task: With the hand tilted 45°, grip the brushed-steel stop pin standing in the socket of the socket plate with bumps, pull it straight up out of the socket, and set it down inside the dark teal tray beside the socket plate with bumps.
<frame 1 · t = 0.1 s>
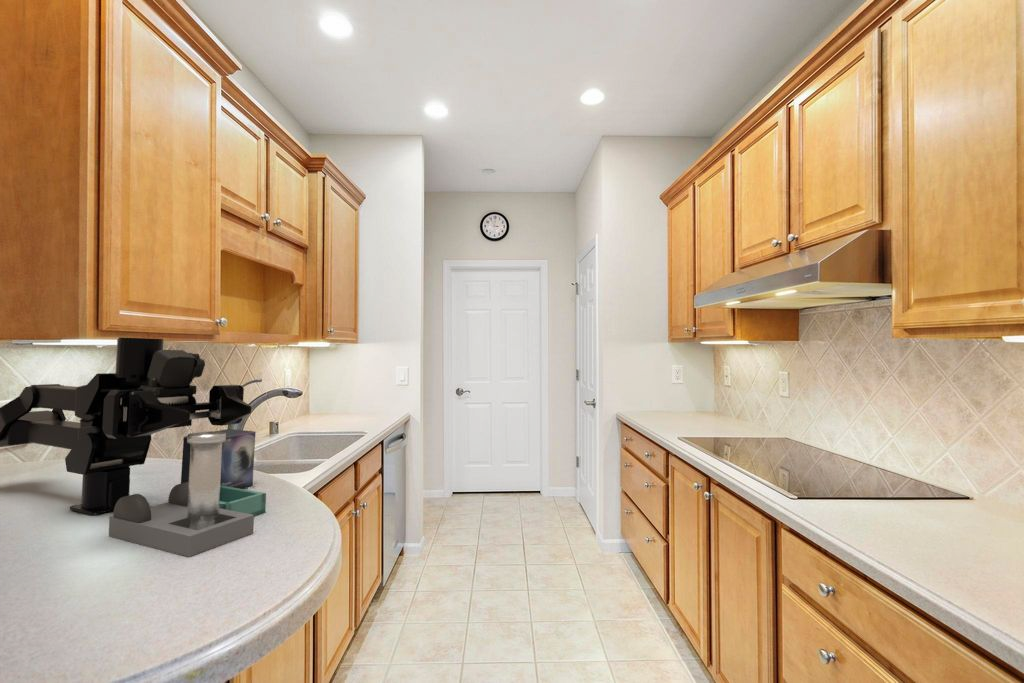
hand: (221, 412, 68), 17 cm above the counter, tool horizontal, fingers open, 9 cm apart
socket plate with bumps: (182, 534, 67), on the counter
small box: (218, 493, 88), on the counter
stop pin: (202, 539, 65), resting in socket plate with bumps
tray: (223, 514, 75), on the counter
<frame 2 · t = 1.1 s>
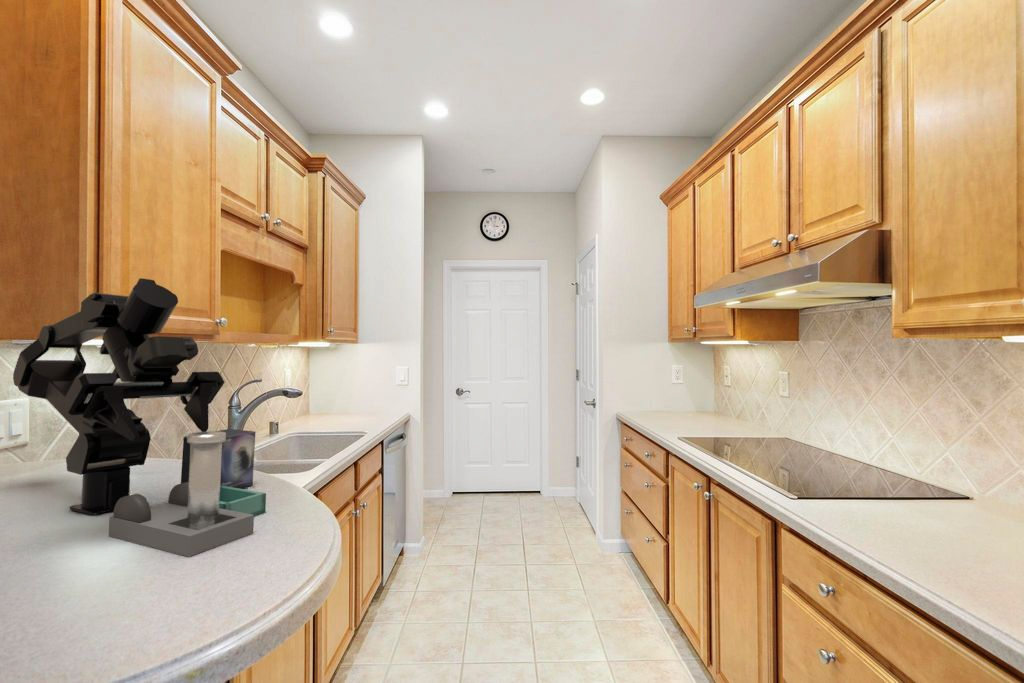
hand: (172, 434, 69), 13 cm above the counter, tool tilted 45°, fingers open, 9 cm apart
nothing on the counter moved.
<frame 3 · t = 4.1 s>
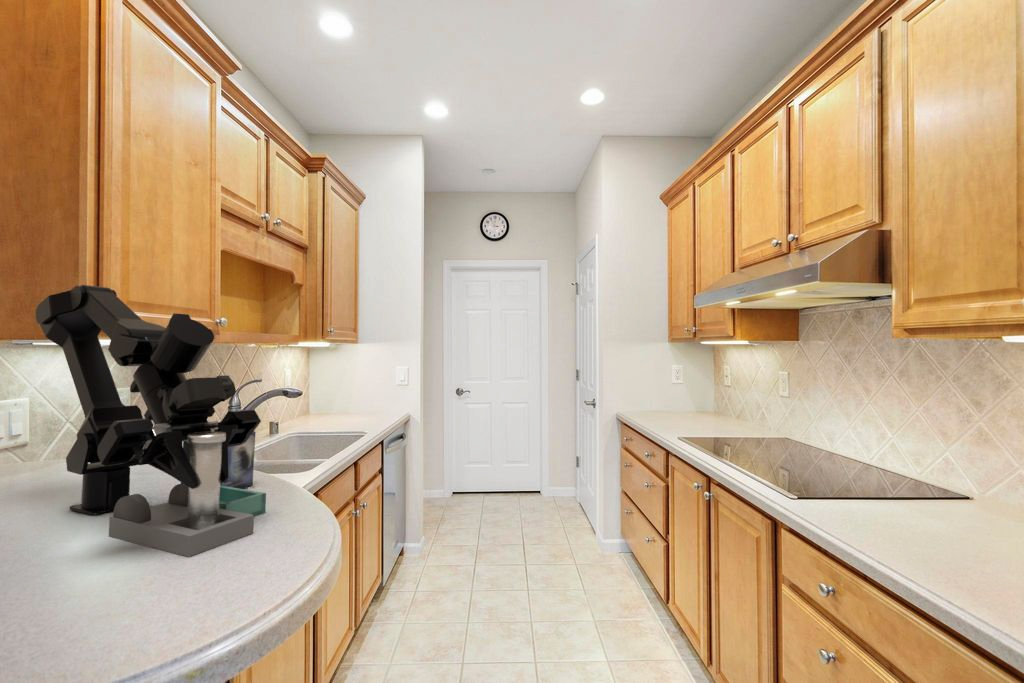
hand: (211, 483, 65), 8 cm above the counter, tool tilted 45°, fingers closed on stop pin, 4 cm apart
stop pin: (202, 539, 65), resting in socket plate with bumps, touching gripper
everything else where it was.
when the fingers open (10 cm above the counter, at t = 7.9 s): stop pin drops 1 cm, resting on tray.
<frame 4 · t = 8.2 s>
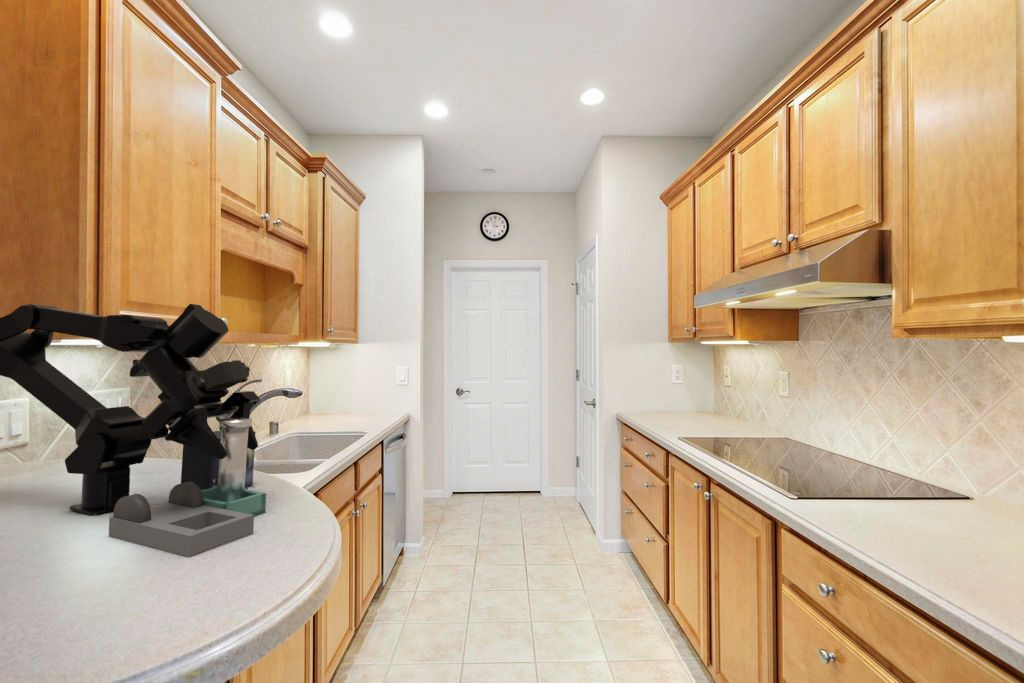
hand: (240, 452, 75), 10 cm above the counter, tool tilted 45°, fingers open, 7 cm apart
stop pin: (229, 511, 75), point 1 cm above the counter, touching tray
everything else where it was.
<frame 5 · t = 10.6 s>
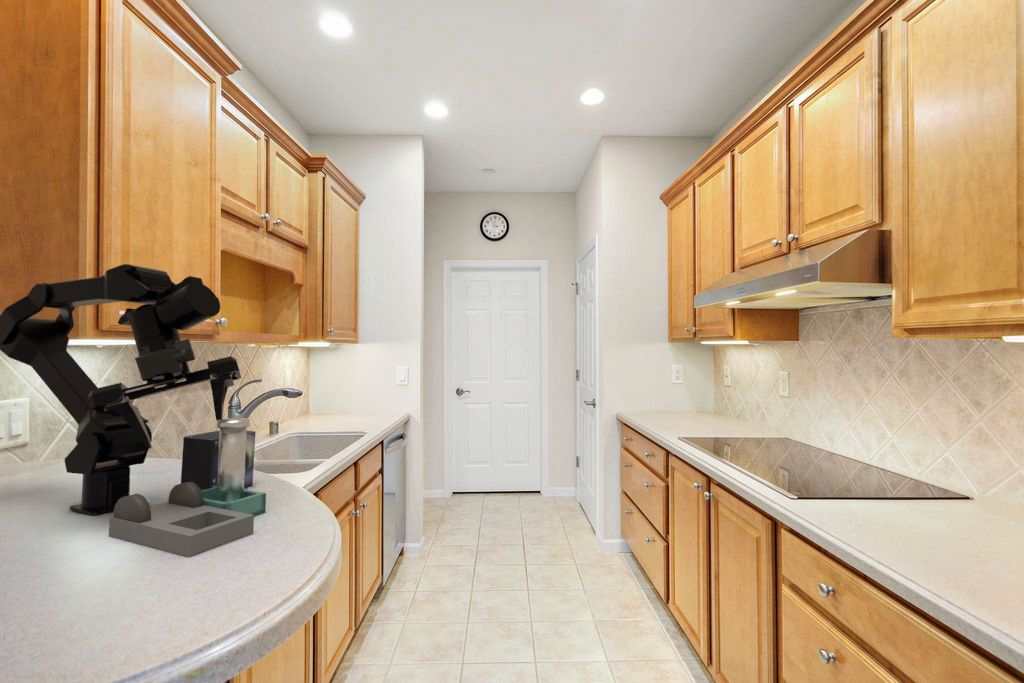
hand: (186, 437, 74), 12 cm above the counter, tool tilted 25°, fingers open, 9 cm apart
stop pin: (229, 511, 75), point 1 cm above the counter, touching gripper, tray
everything else where it was.
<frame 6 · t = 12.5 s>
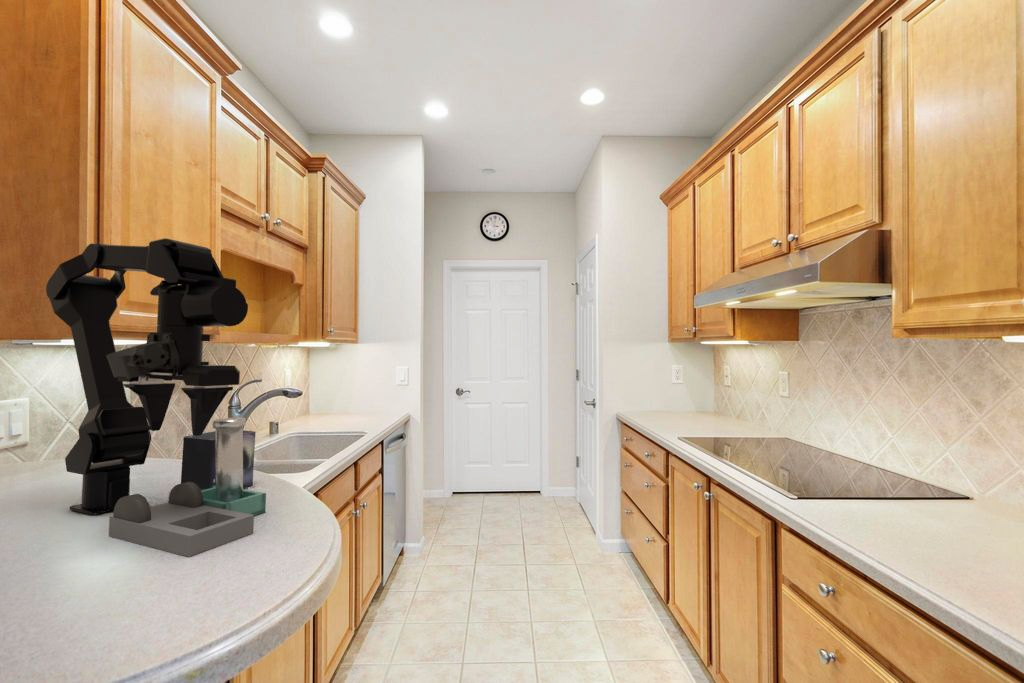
hand: (175, 432, 72), 13 cm above the counter, tool pointing down, fingers open, 9 cm apart
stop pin: (229, 511, 75), point 1 cm above the counter, touching tray
everything else where it was.
at the end: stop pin inside the target area on the tray (1.4 cm from its centre), point 0.7 cm above the tray's base; the gripper is holding nothing; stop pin moved 10.0 cm from its start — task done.
